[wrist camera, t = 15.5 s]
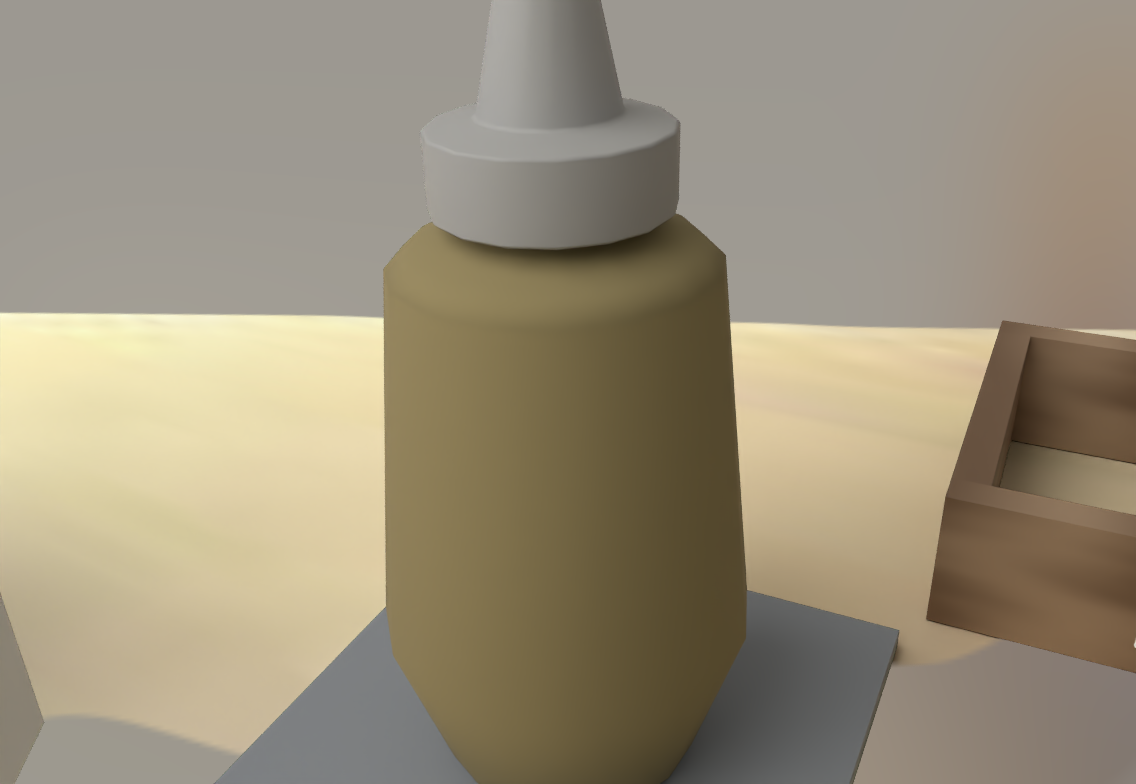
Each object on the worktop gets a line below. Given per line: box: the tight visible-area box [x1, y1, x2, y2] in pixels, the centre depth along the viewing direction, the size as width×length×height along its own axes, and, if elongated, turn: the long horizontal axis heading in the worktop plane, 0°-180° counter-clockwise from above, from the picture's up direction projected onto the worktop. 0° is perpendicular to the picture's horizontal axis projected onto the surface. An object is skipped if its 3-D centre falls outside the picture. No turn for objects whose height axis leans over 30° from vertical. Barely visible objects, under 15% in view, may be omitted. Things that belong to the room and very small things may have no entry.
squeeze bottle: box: [383, 0, 747, 784], centre depth 22 cm, size 8×8×18 cm
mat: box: [214, 590, 899, 784], centre depth 26 cm, size 13×13×1 cm
